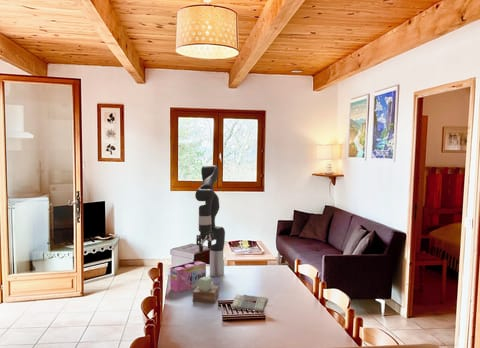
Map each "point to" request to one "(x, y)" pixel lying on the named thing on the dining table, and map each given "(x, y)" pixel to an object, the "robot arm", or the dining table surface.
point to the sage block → (205, 283)
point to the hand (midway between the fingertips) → (205, 250)
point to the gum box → (186, 275)
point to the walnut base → (206, 295)
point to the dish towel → (242, 304)
